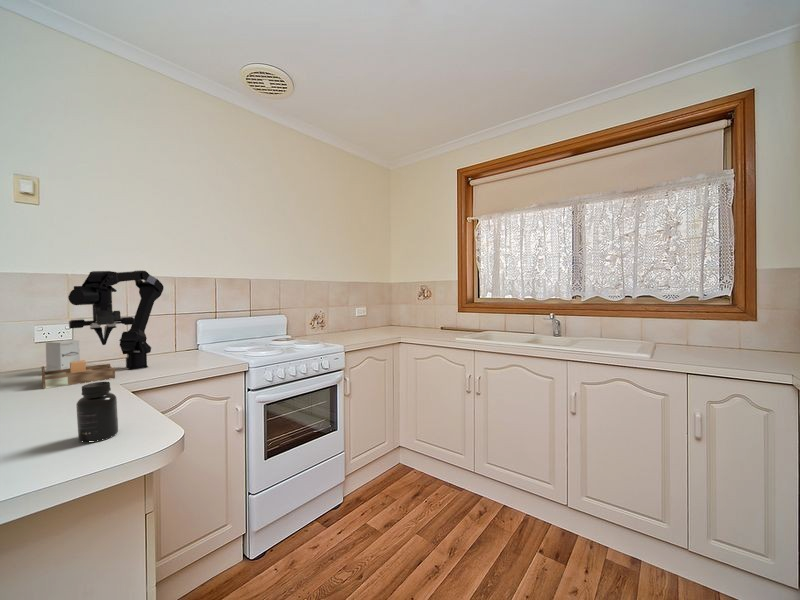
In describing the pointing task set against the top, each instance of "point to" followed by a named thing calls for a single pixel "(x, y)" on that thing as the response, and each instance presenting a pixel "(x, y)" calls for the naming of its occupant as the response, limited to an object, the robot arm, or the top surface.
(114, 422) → the supplement bottle
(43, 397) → the top surface
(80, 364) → the block
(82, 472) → the top surface
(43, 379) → the brown flat box
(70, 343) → the supplement box
